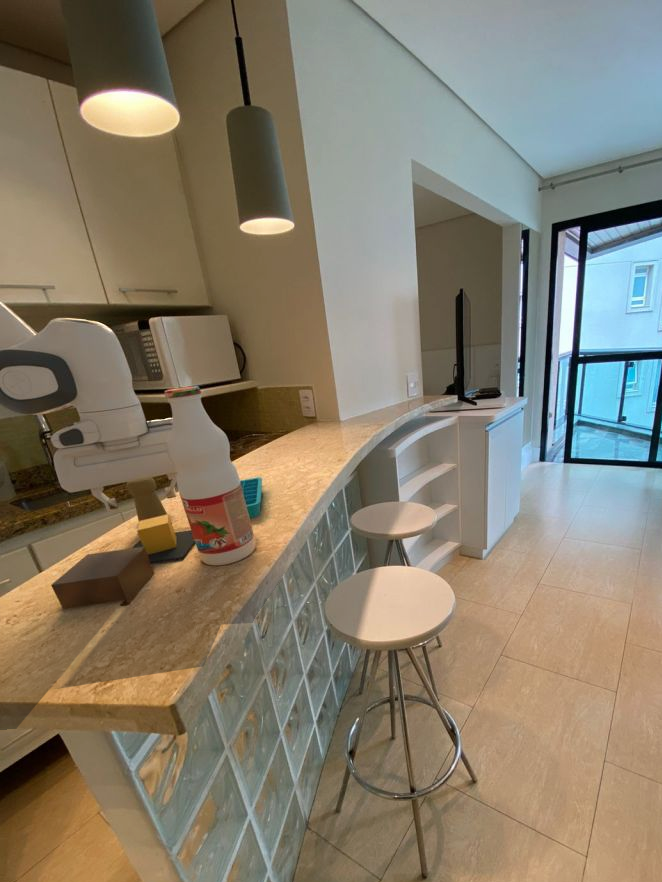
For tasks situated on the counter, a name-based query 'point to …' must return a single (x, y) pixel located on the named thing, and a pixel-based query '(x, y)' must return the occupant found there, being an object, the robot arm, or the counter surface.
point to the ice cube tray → (252, 495)
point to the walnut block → (104, 578)
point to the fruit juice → (207, 481)
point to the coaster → (179, 553)
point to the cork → (146, 498)
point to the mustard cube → (157, 534)
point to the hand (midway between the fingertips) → (143, 503)
